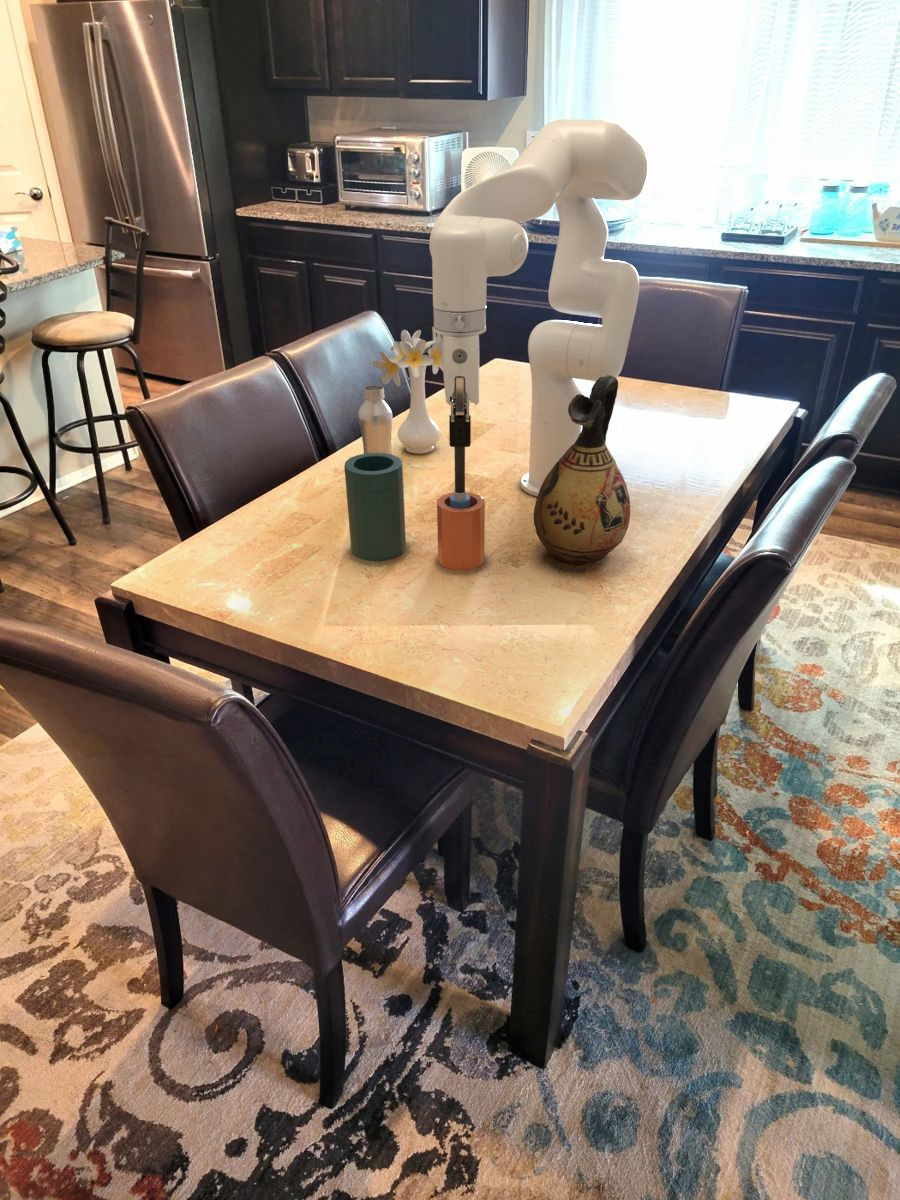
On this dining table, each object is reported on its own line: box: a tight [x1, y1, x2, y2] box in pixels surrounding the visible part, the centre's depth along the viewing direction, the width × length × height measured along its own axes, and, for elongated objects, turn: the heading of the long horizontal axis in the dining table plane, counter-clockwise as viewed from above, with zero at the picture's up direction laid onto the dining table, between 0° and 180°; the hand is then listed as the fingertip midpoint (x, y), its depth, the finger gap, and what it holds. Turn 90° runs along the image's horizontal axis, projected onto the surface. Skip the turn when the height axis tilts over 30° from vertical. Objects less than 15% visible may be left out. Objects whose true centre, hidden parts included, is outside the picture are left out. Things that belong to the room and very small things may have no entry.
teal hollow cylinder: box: [344, 453, 407, 562], centre depth 140 cm, size 9×9×16 cm
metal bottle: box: [357, 384, 394, 455], centre depth 163 cm, size 6×7×20 cm
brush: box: [450, 416, 470, 509], centre depth 133 cm, size 3×3×22 cm
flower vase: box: [372, 326, 443, 455], centre depth 178 cm, size 13×18×25 cm
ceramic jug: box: [533, 375, 631, 571], centre depth 135 cm, size 17×15×30 cm
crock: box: [436, 491, 486, 571], centre depth 138 cm, size 8×8×11 cm
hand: (460, 442), depth 130 cm, fingers closed on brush, 1 cm apart
